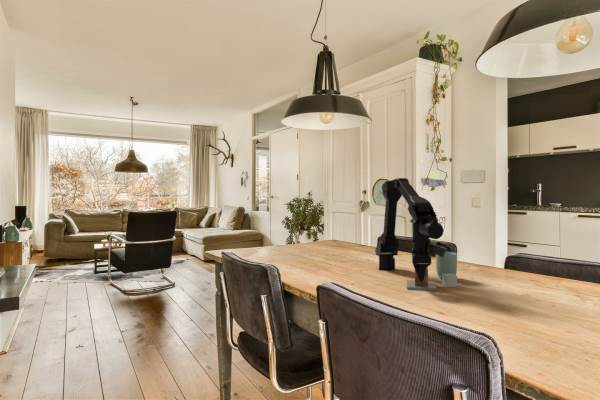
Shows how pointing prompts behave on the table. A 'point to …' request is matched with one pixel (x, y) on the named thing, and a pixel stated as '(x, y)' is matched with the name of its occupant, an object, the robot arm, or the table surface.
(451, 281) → the painted cube
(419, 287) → the coaster
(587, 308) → the table surface
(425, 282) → the walnut block
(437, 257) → the cup
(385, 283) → the table surface
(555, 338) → the table surface
